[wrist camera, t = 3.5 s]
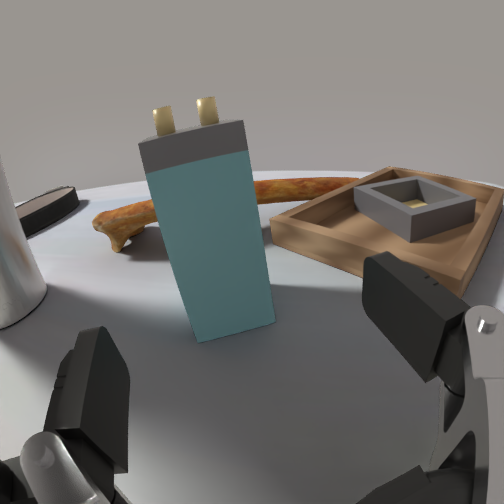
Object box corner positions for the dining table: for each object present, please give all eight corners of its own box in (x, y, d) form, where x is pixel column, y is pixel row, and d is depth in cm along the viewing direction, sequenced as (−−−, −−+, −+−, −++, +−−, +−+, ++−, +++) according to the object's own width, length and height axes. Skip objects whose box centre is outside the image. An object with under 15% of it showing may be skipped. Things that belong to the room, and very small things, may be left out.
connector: (198, 343, 18) (131, 113, 12) (191, 299, 23) (143, 115, 17) (275, 322, 19) (237, 89, 13) (256, 283, 23) (222, 97, 17)
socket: (409, 243, 24) (411, 215, 23) (354, 209, 32) (353, 187, 31) (473, 221, 25) (476, 198, 24) (417, 195, 33) (417, 175, 32)
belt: (99, 192, 75) (94, 174, 72) (42, 237, 48) (33, 213, 46) (26, 215, 75) (21, 200, 73) (-33, 260, 49) (-40, 241, 47)
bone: (354, 191, 41) (366, 131, 33) (377, 237, 36) (398, 175, 28) (119, 227, 40) (91, 173, 32) (112, 278, 35) (73, 225, 27)
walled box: (273, 244, 29) (269, 219, 28) (389, 183, 40) (389, 166, 39) (452, 313, 16) (460, 280, 15) (502, 208, 28) (504, 189, 26)
